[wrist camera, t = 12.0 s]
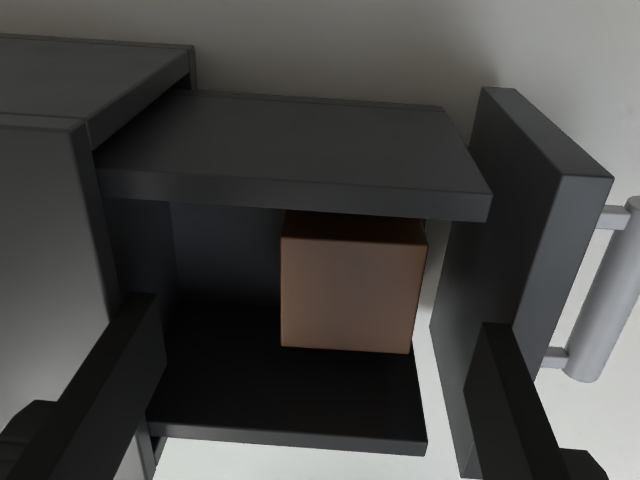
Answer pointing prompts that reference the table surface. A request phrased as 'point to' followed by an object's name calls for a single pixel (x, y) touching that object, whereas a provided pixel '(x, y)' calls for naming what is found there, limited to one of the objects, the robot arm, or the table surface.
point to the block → (350, 280)
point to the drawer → (353, 198)
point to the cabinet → (66, 207)
